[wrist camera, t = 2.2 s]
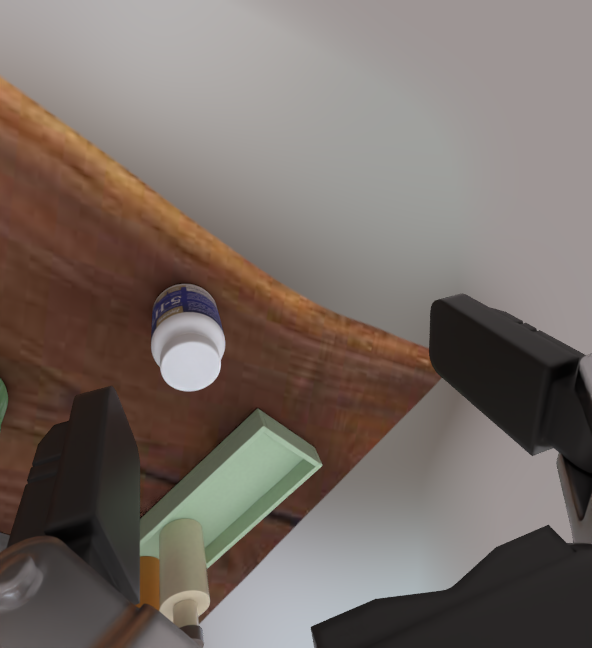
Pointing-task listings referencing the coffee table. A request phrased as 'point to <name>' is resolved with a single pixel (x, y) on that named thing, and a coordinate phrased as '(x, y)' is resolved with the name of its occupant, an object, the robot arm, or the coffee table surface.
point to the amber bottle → (149, 581)
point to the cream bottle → (183, 576)
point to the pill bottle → (187, 337)
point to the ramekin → (3, 401)
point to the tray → (234, 485)
